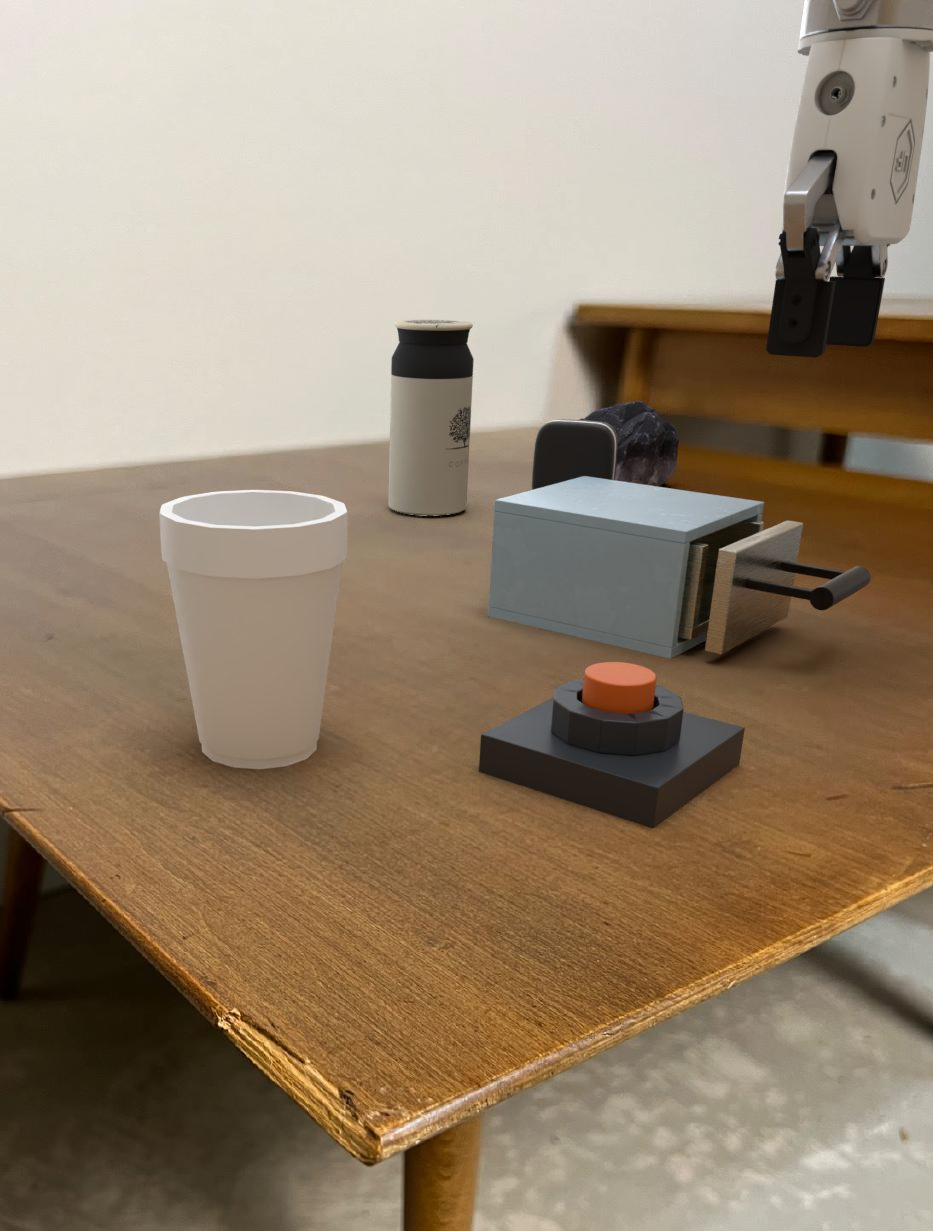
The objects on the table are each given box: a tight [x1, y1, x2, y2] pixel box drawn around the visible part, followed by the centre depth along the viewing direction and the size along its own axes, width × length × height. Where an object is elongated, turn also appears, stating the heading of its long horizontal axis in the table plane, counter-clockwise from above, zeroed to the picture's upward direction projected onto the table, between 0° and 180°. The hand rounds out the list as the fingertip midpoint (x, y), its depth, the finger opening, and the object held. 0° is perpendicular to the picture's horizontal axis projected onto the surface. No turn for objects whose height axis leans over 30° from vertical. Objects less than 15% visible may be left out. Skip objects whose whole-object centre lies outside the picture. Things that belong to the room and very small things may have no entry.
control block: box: [478, 678, 746, 829], centre depth 62 cm, size 10×10×4 cm
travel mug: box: [387, 319, 475, 516], centre depth 119 cm, size 8×8×18 cm
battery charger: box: [531, 418, 618, 490], centre depth 104 cm, size 7×4×11 cm, turn 70°
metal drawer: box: [678, 519, 872, 655], centre depth 83 cm, size 19×11×7 cm, turn 50°
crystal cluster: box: [578, 400, 680, 487], centre depth 135 cm, size 13×14×10 cm
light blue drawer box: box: [487, 476, 765, 659], centre depth 87 cm, size 15×13×9 cm
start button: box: [582, 661, 657, 714], centre depth 61 cm, size 4×4×2 cm
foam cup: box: [158, 489, 348, 770], centre depth 63 cm, size 10×9×13 cm
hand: (821, 349), depth 72 cm, fingers open, 9 cm apart
